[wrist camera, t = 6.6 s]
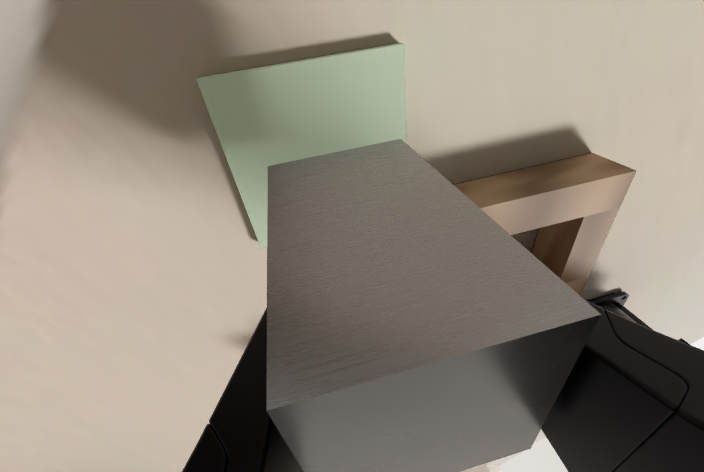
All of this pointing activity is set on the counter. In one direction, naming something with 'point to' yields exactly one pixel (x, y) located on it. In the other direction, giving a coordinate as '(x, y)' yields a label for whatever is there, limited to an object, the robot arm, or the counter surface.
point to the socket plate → (557, 209)
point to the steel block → (406, 319)
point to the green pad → (303, 114)
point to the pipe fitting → (484, 468)
